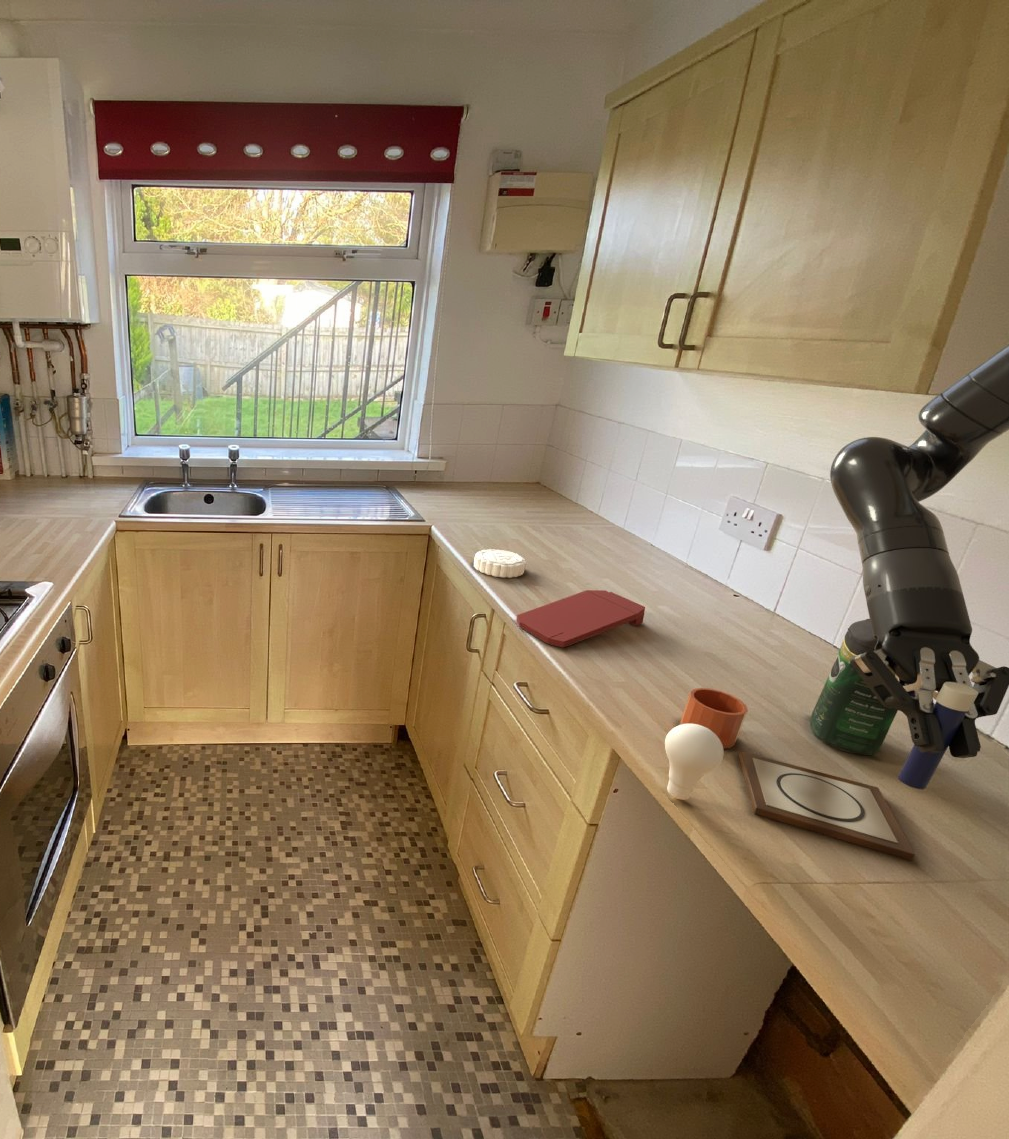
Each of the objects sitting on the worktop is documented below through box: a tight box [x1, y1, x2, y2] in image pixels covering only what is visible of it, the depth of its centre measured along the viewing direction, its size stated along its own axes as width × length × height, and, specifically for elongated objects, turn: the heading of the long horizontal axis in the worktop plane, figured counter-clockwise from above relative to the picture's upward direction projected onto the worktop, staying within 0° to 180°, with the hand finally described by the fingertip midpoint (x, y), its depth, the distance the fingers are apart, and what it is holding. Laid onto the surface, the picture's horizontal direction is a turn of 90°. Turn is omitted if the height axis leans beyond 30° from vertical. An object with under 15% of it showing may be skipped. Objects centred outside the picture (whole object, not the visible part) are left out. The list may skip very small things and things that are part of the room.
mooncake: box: [473, 548, 527, 579], centre depth 157 cm, size 12×12×4 cm
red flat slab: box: [516, 589, 646, 648], centre depth 128 cm, size 12×5×25 cm
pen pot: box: [679, 687, 749, 750], centre depth 94 cm, size 7×7×6 cm
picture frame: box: [738, 751, 916, 861], centre depth 81 cm, size 15×13×1 cm
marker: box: [897, 682, 978, 790], centre depth 65 cm, size 2×2×12 cm
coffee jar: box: [809, 618, 899, 756], centre depth 91 cm, size 10×8×19 cm
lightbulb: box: [664, 724, 725, 801], centre depth 80 cm, size 6×6×11 cm
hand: (948, 753), depth 64 cm, fingers closed on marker, 2 cm apart
